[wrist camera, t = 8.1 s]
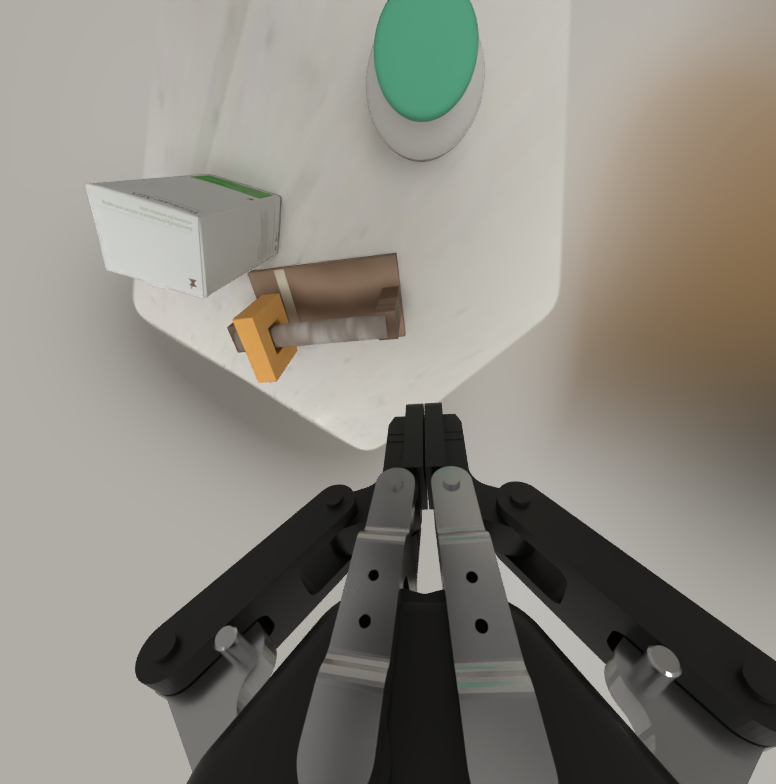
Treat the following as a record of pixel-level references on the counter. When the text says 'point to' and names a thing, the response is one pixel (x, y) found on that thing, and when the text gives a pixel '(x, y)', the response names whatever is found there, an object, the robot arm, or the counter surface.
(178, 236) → the skincare box
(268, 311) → the collar
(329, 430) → the counter surface
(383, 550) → the robot arm
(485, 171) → the counter surface
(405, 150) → the milk bottle
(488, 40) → the counter surface
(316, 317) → the pipe stand
